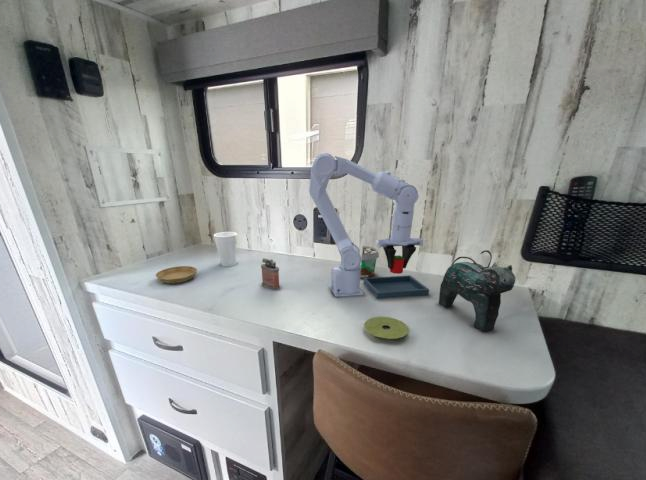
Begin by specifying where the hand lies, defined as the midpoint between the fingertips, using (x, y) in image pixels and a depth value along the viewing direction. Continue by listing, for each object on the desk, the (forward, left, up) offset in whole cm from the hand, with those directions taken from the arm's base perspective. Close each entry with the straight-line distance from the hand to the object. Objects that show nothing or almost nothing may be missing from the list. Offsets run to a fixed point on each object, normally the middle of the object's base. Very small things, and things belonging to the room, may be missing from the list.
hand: (396, 267), depth 100 cm
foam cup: (-58, +41, -9) cm, 72 cm away
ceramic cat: (+12, -20, -9) cm, 25 cm away
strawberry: (0, 0, -1) cm, 1 cm away
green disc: (-13, -25, -9) cm, 29 cm away
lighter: (-41, +12, -9) cm, 44 cm away
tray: (+1, +2, -9) cm, 9 cm away
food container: (-3, +17, -9) cm, 20 cm away
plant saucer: (-76, +26, -9) cm, 81 cm away
